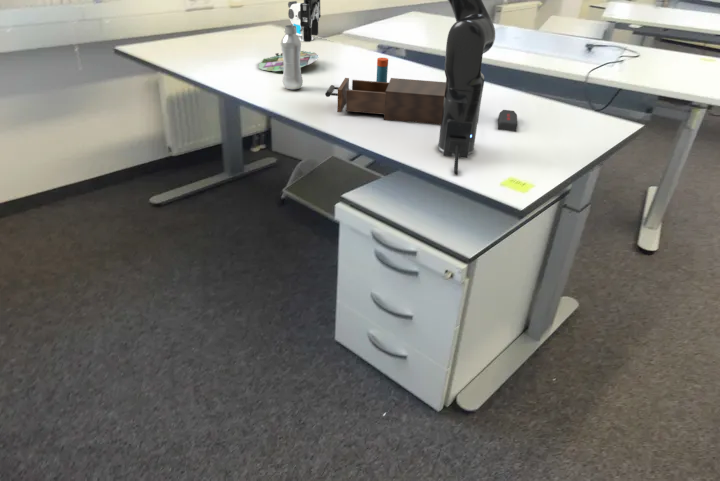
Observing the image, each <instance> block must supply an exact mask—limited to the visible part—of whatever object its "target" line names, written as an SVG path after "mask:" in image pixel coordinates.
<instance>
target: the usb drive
mask: <svg viewBox="0 0 720 481" xmlns="http://www.w3.org/2000/svg"><path fill="white" fill-rule="evenodd" d="M497 120H498V121H497V130H499V131H508V132H517V129H518V114H517V112H515V111H514V110H510V109H502V110H501V111H500V112H499V113H498V119H497Z"/></svg>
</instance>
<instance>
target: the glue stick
mask: <svg viewBox="0 0 720 481" xmlns="http://www.w3.org/2000/svg"><path fill="white" fill-rule="evenodd" d="M388 68H389V58H387V57H378V58H377V60H376V81H375V82H388V70H389V69H388Z"/></svg>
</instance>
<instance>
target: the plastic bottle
mask: <svg viewBox="0 0 720 481" xmlns="http://www.w3.org/2000/svg"><path fill="white" fill-rule="evenodd" d="M283 32H284V33H285V34H284V35H283V37H282V38H281V41H280V48H281V53H282V54H283V60H284V61H283V63H284V70H283V71H282V72H283V74H282V85H283V87H284V89H287V90H299V89H301V88H302V86H303V81H304V80H303V75H302V67H301V68H300V52H301V51H302V42H301V41H300V39H299V38H298V36H297V35H296V33H297V31H296V26H294V25H291V24H288V25H287V24H286V25H284V30H283Z"/></svg>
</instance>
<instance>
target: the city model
mask: <svg viewBox="0 0 720 481" xmlns="http://www.w3.org/2000/svg"><path fill="white" fill-rule="evenodd" d="M318 59H319V54H318V53H317V52H316V51H315V52H314V51H305V50H301V52H300V68H301V69H302V68H303V67H306V66H309V65H312V64H313V63H314V62H317V60H318ZM283 61H284V60H283V54H282V52H281V53H279V52H277V53H275V55H273V56H270V57H266V58H265V57H264V58H263V59H262V60H261V62H260V63H258V70H261V71H266V72H270V71H272V72H281V71H282V72H283V71H284V63H283Z"/></svg>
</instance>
